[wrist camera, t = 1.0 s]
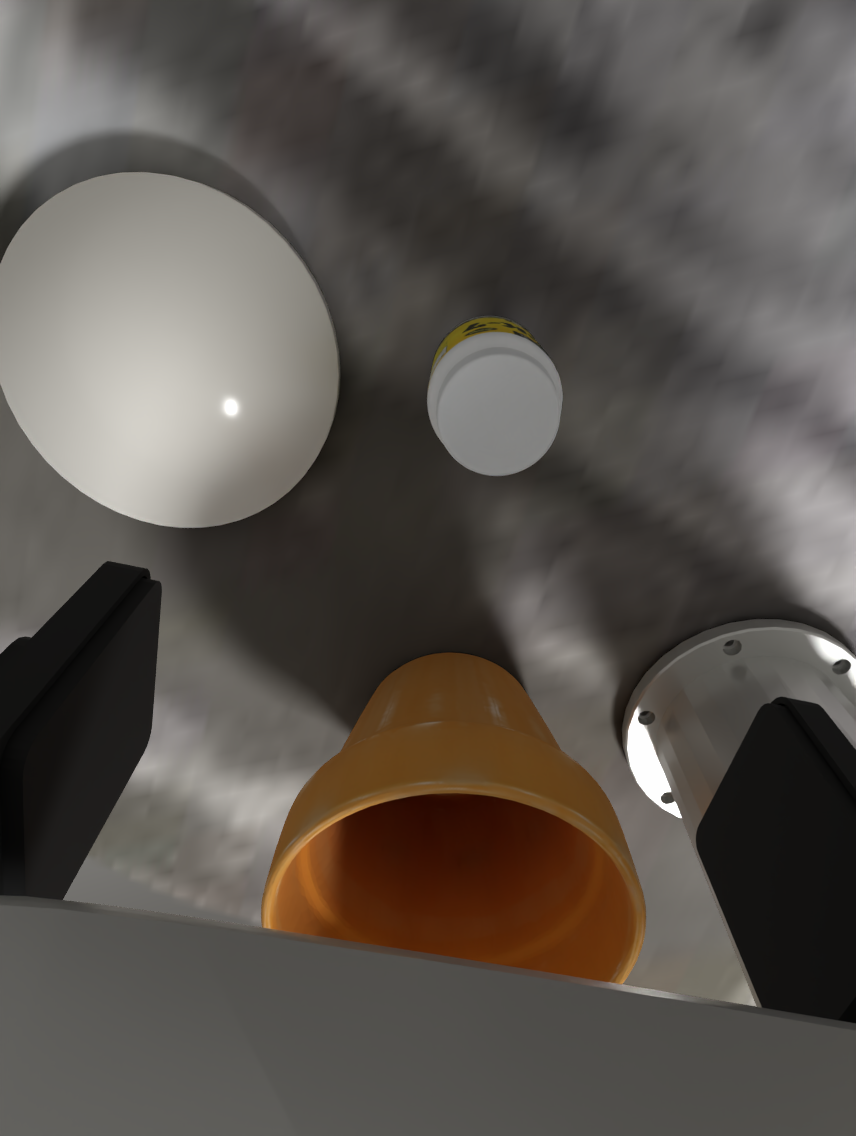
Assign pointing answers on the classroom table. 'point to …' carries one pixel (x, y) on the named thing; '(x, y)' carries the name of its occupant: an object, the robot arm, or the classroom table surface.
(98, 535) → the classroom table surface
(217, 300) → the dish
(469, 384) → the supplement bottle
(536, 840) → the flower pot
